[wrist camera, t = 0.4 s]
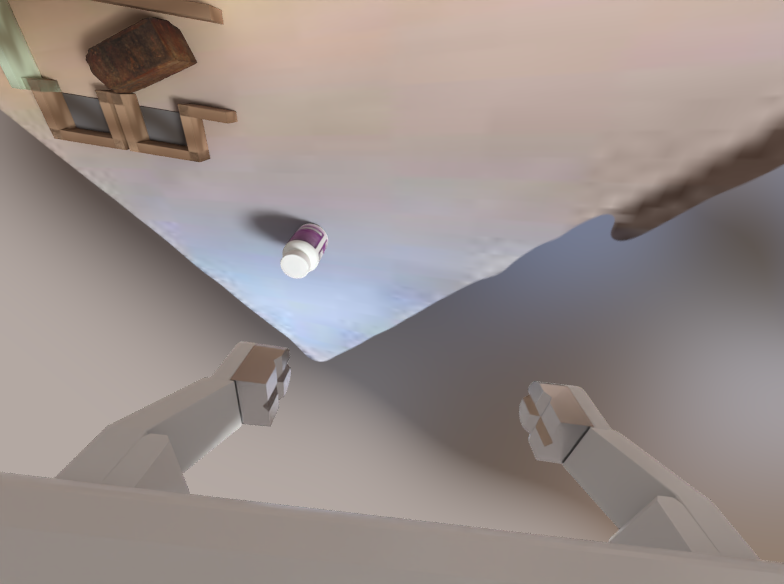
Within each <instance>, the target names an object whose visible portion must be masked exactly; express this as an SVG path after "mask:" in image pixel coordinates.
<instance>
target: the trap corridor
mask: <svg viewBox="0 0 784 584" xmlns="http://www.w3.org/2000/svg"><path fill="white" fill-rule="evenodd" d="M93 1H98V2H104V3H109V4H114V5H120V6H125V7H131V8H136V9H142V10H147V11H153V12H158V13H164V14H169V15H175V16H180V17H186V18H191V19H197V20H202V21H207V22H213V23H218V24H223V18H222V11H221V10H220V9H217V8H215V7H213V6H210V5H207V4H202V3H196V2H191V1H186V0H93ZM0 65H1V67H2V69H3V71H4V73H5V75H6V77H7V79H8V81H9V83H10V85H11V87H12V88H17V89H27V90H32V92H33V94H34V97H35V99H36V101H37V103H38V105H39V107H40V109H41V111H42V113H43V115H44V117H45V120H46V122H47V124H48V126H49V128H50V130H51V132H52V134H53V136H54V138H55V139H61V140H67V141H73V142H79V143H86V144H92V145H98V146H104V147H110V148H116V149H122V150H128V149H130V151H135V152H141V153H147V154H153V155H159V156H165V157H171V158H178V159H184V160H190V161H196V162H202V161H205V160H208V159H210V155H209V150H208V145H207V140H206V135H205V131H204V126H203V121H202V119H205V120H211V121H217V122H222V123H233V122H237V115H236V111H231V110H225V109H219V108H214V107H208V106H202V105H196V104H190V103H189V104H178V108H179V113H178V112H172V111H167V110H161V109H155V108H149V107H143V106H140V107H139V103H138V100H137V97H136V94H132V93H122V94H117V93H115V92H114V91H113V90H95V92H96V94H97V97H98V99H96V98H90V97H84V96H78V95H72V94H66V93H62V92H61V90H60V87H59V85H58V83H57V81H56V80H50V79H44V78H42V77H41V74H40V72H39V70H38V68H37V66H36V63H35V61H34V59H33V57H32V55H31V52H30V50H29V48H28V46H27V43H26V41H25V39H24V37H23V35H22V32H21V30H20V28H19V26H18V23H17V21H16V19H15V17H14V15H13V12H12V10H11V8H10V6H9V3H8V1H7V0H0ZM140 109H141V110H140ZM141 112H142V113H141ZM143 119H144V120H143ZM144 122H145V123H144ZM145 125H146V126H145ZM80 128H83V129H80ZM86 129H89V130H86ZM92 130H95V131H92ZM98 131H101V132H98ZM105 132H107V133H105ZM147 132H148V133H147ZM148 135H149V136H148ZM149 138H150V139H149ZM153 140H155V141H153ZM159 141H161V142H159ZM165 142H167V143H165ZM171 143H173V144H171ZM177 144H179V145H177ZM183 145H186V146H183Z"/></svg>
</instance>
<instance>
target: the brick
mask: <svg viewBox="0 0 784 584" xmlns="http://www.w3.org/2000/svg"><path fill="white" fill-rule="evenodd" d="M88 52H89V53H88V54H87V55H86V61H87V63H88V64H89V66H90V69H91V72H92V73H93V74H94V75H95V76H96V77H97V78H98V79H99V80H100V81H101V82H103V83H104V84H105V86H106V87H107V88H109V89H112V90H113V91H114V92H115V93H117V94H122V93H132V92H135V91H138V90H140V89H142V88H145V87H147V86H150V85H152V84H154V83H156V82H158V81H161V80H163V79H164V78H167V77H169V76H171V75H173V74H175V73H177V72H180V71H182V70H184V69H186V68H188V67H190V66H192V65H194V64H196V63H197V61H196V59H195V57H194V55H193V53H192V51H191V50H190V48H189V46H188V44H187V42H186V40H185V38H184V37H183V35H182V33H181V31H180V30H179V29H178V28H177V27H174V26H173V25H172V24H171V23H170V22H169V21H167V20H162V19H158V18H154V17H152V18H146V19H143V20H141V21H140V22H138V23H136V24H134V25H132V26H130V27H128V28H127V29H125V30H123V31H121V32H119V33H117V34H116V35H114V36H112V37H110V38H108V39H106V40H104V41H103V42H101V43H99V44H97V45H96V46H94V47H92V48H90V49H89V50H88Z"/></svg>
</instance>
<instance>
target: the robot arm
mask: <svg viewBox="0 0 784 584" xmlns="http://www.w3.org/2000/svg"><path fill="white" fill-rule="evenodd" d="M289 359H290V350H289V349H288V348H284V347H278V346H272V345H265V344H259V343H251V342H245V341H241V342H239V343H238V344H237V345H236V346H235V347H234V349H233V350H232V351H231V352H230V354H229V355H228V356H227V357H226V359H225V360H224V361H223V362H222V364H221V365H220V366H219V367H218V369H217V370H216V371H215V372H214V374H213V375H212V376H211V377H210V378H208V377H205V378H203V379H201V380H199V381H196V382H194V383H192V384H191V385H188V386H187V387H185V388H182V389H180V390H178V391H176V392H174V393H173V394H170V395H168V396H166V397H164V398H163V399H161V400H159V401H156V402H155V403H152V404H150V405H148V406H146V407H144V408H143V409H140V410H138V411H136V412H134V413H132V414H131V415H129V416H126V417H124V418H122V419H120V420H118V421H116V422H114V423H113V424H110V425H108V426H107V427H106V428H105V429H104V430H103V431H102V432H101V433H100V434H99V435H98V436H96V437H95V438H94V439H93V440H92V442H90V443H89V444H88V445H87V446H86V447H85V448H84V449H83V450H82V451H81V452H80V453H79V454H78V455H77V456H76V457H75V458H74V459H73V460H72V461H71V462H70V463H69V464H68V465H67V466H66V467H65V468H64V469H63V470H62V471H61V472H60V473H59V474H58V475H57V476H56V477H55V478H47V477H39V476H30V475H21V474H13V473H5V472H0V584H784V563H782V562H773V561H764V560H760V558H759V557H758V556H757V555H756V554H755V552H754V551H753V550H752V549H751V548H750V546H749V545H748V544H747V543H746V542H745V540H744V539H743V538H742V537H741V536H740V534H739V533H738V532H737V531H736V530H735V528H734V527H733V526H732V525H731V524H730V522H729V521H728V520H727V519H726V518H725V517H724V515H723V514H722V513H721V512H720V510H719V509H718V508H717V507H716V506H715V504H714V503H713V502H712V501H711V500H710V499H708V498H707V497H706V496H704V495H703V494H702V493H700V492H699V491H698V490H696V489H695V488H693V487H692V486H691V485H689V484H688V483H687V482H685V481H684V480H683V479H681V478H680V477H679V476H677V475H676V474H675V473H673V472H672V471H671V470H669V469H668V468H666V467H665V466H664V465H663V464H661V463H660V462H658V461H657V460H656V459H654V458H653V457H652V456H650V455H649V454H648V453H646V452H645V451H644V450H642V449H641V448H640V447H638V446H637V445H636V444H634V443H633V442H631V441H630V440H629V439H628V438H626V437H625V436H623V435H622V434H621V433H619V432H618V431H615V430H612V429H611V428H610V426H609V425H608V423H607V422H606V421H605V419H604V418H603V416H602V415H601V413H600V412H599V411H598V409H597V408H596V406H595V405H594V404H593V402H592V401H591V399H590V398H589V396H588V395H587V394H586V392H585V391H584V390H583V389H582V388H581V387H579V386H570V385H561V384H553V383H545V382H537V381H534V382H533V383H531V384H530V386H529V388H528V391H529V395H528V396H526V397H524V398H523V399H522V401H521V404H520V407H519V416H520V421H521V424H522V426H523V428H524V429H525V430H526V431H527V432H528V433H529V434H530V435H529V438H528V441H529V444H530V446H531V449H532V451H533V453H534V456H535V458H536V460H541V461H547V462H554V463H560V464H563V466H564V468H565V469H566V470H567V471H568V472H569V473H570V474H571V475H572V477H573V478H574V479H575V480H576V481H577V482H578V483H579V485H580V486H581V487H582V488H583V489H584V490H585V491H586V492H587V494H588V495H589V496H590V497H591V498H592V499H593V500H594V501H595V503H596V504H597V505H598V506H599V507H600V508H601V509H602V510H603V512H604V513H605V514H606V515H607V516H608V517H609V518H610V519H611V520H612V522H613V523H614V524H615V525H616V526H617V527H618V528H619V530H618V531H617V532H616V533H615V534H614V535H613V536H612V537H610V539H609V541H608V542H599V541H591V540H583V539H574V538H565V537H557V536H548V535H539V534H531V533H522V532H513V531H505V530H496V529H488V528H480V527H471V526H463V525H454V524H445V523H437V522H427V521H419V520H411V519H402V518H393V517H384V516H375V515H367V514H358V513H350V512H341V511H332V510H324V509H314V508H307V507H298V506H289V505H281V504H271V503H263V502H254V501H246V500H237V499H228V498H220V497H211V496H202V495H194V494H190V493H189V489H188V486H187V484H186V481H185V479H184V476H183V473H184V472H185V471H186V470H188V469H189V468H190V467H191V466H193V465H194V464H195V463H196V462H198V460H200V459H201V458H202V457H203V456H205V455H206V454H207V453H209V452H210V451H211V450H212V449H214V448H215V447H216V446H217V445H218V444H220V443H221V442H222V441H223V440H225V439H226V438H227V437H228V436H230V435H231V434H232V433H233V432H234V431H236V430H237V429H238V428H239V427H241V426H242V424H249V425H260V426H271V424H272V422H273V419H274V417H275V415H276V413H277V411H278V409H279V401H278V400H280V399H281V398H282V397H284V396H285V394H286V391H287V389H288V385H289V382H290V375H291V368H290V367H289V365H288V364H287V363H288V361H289Z"/></svg>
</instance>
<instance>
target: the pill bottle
mask: <svg viewBox="0 0 784 584" xmlns="http://www.w3.org/2000/svg"><path fill="white" fill-rule="evenodd" d="M327 245H328V236H327V234H326V232H325V231H324V230H323V229H322V228H321V227H320V226H318V225H315V224H311V223H310V224H304V225H302V226H301V227H300V228H299V229H298V230H297V231H296V233H295V234H294V235H293V236H292V238H291V239H290V240H289V241H288V243H287V244H286V245H285V247H284V249H283V258H282V259H281V263H280V264H281V268H282V270H283V272H284V273H285V274H286V275H288V276H290V277H292V278H303V277H305V276H306V275H307V274H308V272H311V271H312V270H314V269H315V268H316V267H317V265H318V263H319V261H320V259H321V257H322V255H323V253H324V251H325V249H326V247H327Z"/></svg>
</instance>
